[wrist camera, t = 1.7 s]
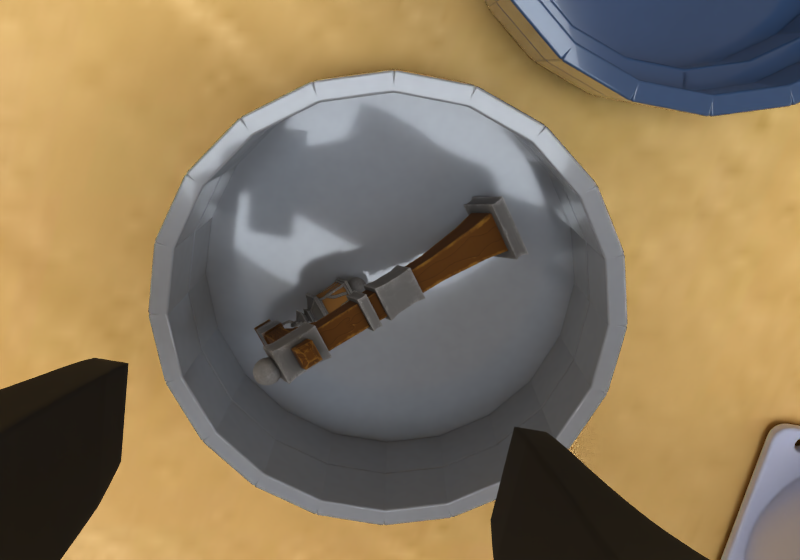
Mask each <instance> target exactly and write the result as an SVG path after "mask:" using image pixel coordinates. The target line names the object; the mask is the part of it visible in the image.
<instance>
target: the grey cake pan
mask: <svg viewBox="0 0 800 560" xmlns="http://www.w3.org/2000/svg"><path fill="white" fill-rule="evenodd" d="M500 196H503V198H504V200H505V203H506V205H507V207H508V209H509V211H510V214H511V216H512V218H513V220H514V223H515V225H516V227H517V229H518V231H519V234H520V236H521V238H522V240H523V242H524V245H525V247H526V249H527V251H528V254H524V255H522V256H520V257H518V259H509V258H502V257H494V256H493V257H491V258H488V259H486V260H484V261H482V262H480V263H478V264H476V265H474V266H472V267H470V268H468V269H466V270H464V271H462V272H460V273H458V274H456V275H454V276H452V277H450V278H448V279H446V280H444V281H442V282H440V283H439V284H437V285H435V286H434V287H432V288H431V289H429V290H427V291H426V292H424V293H423V294H424V296H425V299H423V300H420V301H418V302H416V303H414V304H412V305H411V306H409V307H408V308H406V309H405V310H403V311H402V312H400V313H399V314H398V315H397V316H396V317H395V318H394V319H393V320H392V321H391V320H388V319H386V318H384V319H382V320H380V322H381V324H382V326H383V327H379V328H377V329H376V330H375V331H372V330H370V329H368V328H367V329H365V330H364V331H362V332H360V333H359V334H357V335H355V336H354V337H352V338H350V339H349V340H347V341H345V342H344V343H342V344H340V345H339V346H337V347H335V348H334V349H332V350H330V351H329V352H330V354H331V356H332V358H329V359H327V360H324V361H322V362H320V363H319V364H317V365H315V366H314V367H312V368H311V369H309V370H308V371H306V372H304V373H303V374H301V375H300V376H298V377H297V378H295V379H294V380H293V381H292V382H291V383H290V384H288V383H287V382H285V381H284V380H282V379H281V378H279V380H278V381H277V382H276V383H274V384H272V385H262V384H260V383H258V382H257V381H256V380H255V378H254V376H253V368H254V365H255V364H256V363H257V362H258V361H259V360H260V359H262V358H265V357H268V356H267V354H266V352H265V351H264V349H263V346H264V345H263V343H262V341H261V340H260V338H259V336H258V334H257V333H256V331H255V329H254V328H255V327H257V326H258V325H260V324H262V323H263V322H265V321H267V320H268V319H270V320H273V321H274V320H277V321H279V322H281V323H283V322H285V321H288V320H291V321H295V320H296V310H298V311H300V312H302V313H303V314H304V310H303V309H307V298H306V295H305V294H306V293H310V294H313V295H317V294H318V293H320V292H321V291H323V290H324V289H326V288H327V287H329V286H330V285H331V284H333V283H334V281H335V280H336V278H337V277H338V278H341V279H344V280H347V282H348V281H349V280H350V279H352V278H354V277H359V278H361V279H363V280H364V281H365V282H366V284H368V283H370V282H373V281H375V280H376V279H378V278H380V277H381V276H383V275H385V274H386V273H388V272H390V271H391V270H392V269H393V268H394V267H395V266H396V265H400V266H406V265H408V264H409V263H411V262H412V261H414V260H415V259H417V258H419V257H420V256H422V255H423V254H424V253H425V252H427V251H428V250H429V249H430V248H432V247H433V246H434V245H435V244H437V243H438V242H439V241H440V240H442V239H443V238H444V237H445V236H447V235H448V234H449V233H450V232H452V231H453V230H454V229H455V228H456V227H457V226H458V225H459V224H460V223H461V222H462V221H463V220H464V219H466V218H467V217H468V214H467V211H466V209H465V207H464V204H467V203H468V202H470V201H471V199H472V197H500ZM148 312H149V319H150V323H151V327H152V331H153V335H154V339H155V343H156V347H157V351H158V355H159V359H160V363H161V367H162V371H163V375H164V379H165V381H166V384H167V386H168V387H169V389H170V391H171V392H172V394H173V395H174V397H175V399H176V400H177V402H178V403H179V405H180V407H181V408H182V410H183V411H184V413H185V415H186V416H187V418H188V419H189V421H190V423H191V424H192V426H193V427H194V429H195V431H196V432H197V434H198V435H199V437H200V439H201V440H203V442H204V443H205V444H206V445H207V446H208V447H209V448H211V449H212V450H213V451H214V452H215V453H216V454H218V455H219V456H220V457H221V458H222V459H223V460H225V461H226V462H227V463H228V464H229V465H230V466H231V467H233V468H234V469H235V470H236V471H237V472H238V473H240V474H241V475H242V476H243V477H244V478H245V479H246V480H248V481H249V482H250V483H251V484H252V485H255V487H257V488H259V489H262V490H264V491H266V492H268V493H270V494H272V495H275V496H277V497H279V498H281V499H283V500H286V501H288V502H290V503H292V504H294V505H296V506H299V507H301V508H303V509H305V510H307V511H309V512H312V513H314V514H316V513H317V515H322V516H328V517H334V518H340V519H347V520H353V521H359V522H366V523H372V524H378V525H383V524H384V525H391V524H400V523H409V522H417V521H426V520H435V519H444V518H450V517H451V516H452V517H454V516H457V515H459V514H462V513H464V512H467V511H469V510H472V509H474V508H477V507H479V506H482V505H484V504H487V503H489V502H491V501H494V500H496V497H497V493H498V489H499V485H500V481H501V477H502V473H503V469H504V465H505V461H506V457H507V453H508V449H509V445H510V442H511V438H512V434H513V430H514V427H520V428H526V429H532V430H538V431H544V432H547V433H549V434H550V435H551V436H553V437H554V438H555V439H556V440H558V441H559V442H560V443H561V444H562V445H563V446H565V447H566V448H568V449H569V448H570V447H571V445H572V444H573V442H574V441H575V439H576V438H577V436H578V435H579V434H580V432H581V431H582V429H583V428H584V426H585V425H586V423H587V422H588V421H589V419H590V418H591V416H592V415H593V413H594V412H595V410H596V409H597V407H598V406H599V405H600V403H601V402H602V400H603V399H604V397H605V396H606V394H607V392H608V390H609V386H610V383H611V379H612V376H613V373H614V369H615V366H616V363H617V359H618V356H619V353H620V349H621V346H622V342H623V339H624V336H625V332H626V329H627V326H626V325H627V299H626V275H625V256H624V251H623V248H622V246H621V243H620V241H619V238H618V236H617V233H616V231H615V228H614V226H613V223H612V221H611V218H610V216H609V213H608V211H607V208H606V206H605V203H604V201H603V198H602V196H601V193H600V191H599V188H598V186H597V185H596V182H595V181H594V180H593V179H592V178H591V177H590V176H589V174H588V173H587V172H586V171H585V170H584V169H583V168H582V166H581V165H580V164H579V163H578V162H577V161H576V160H575V158H574V157H573V156H572V155H571V154H570V153H569V151H568V150H567V149H566V148H565V147H564V146H563V145H562V143H561V142H560V141H559V140H558V139H557V138H556V137H555V135H554V134H553V133H552V132H551V131H550V130H549V129H548V127H546V126H544V124H542V123H541V122H539V121H537V120H535V119H534V118H532V117H530V116H528V115H527V114H525V113H523V112H521V111H520V110H518V109H516V108H514V107H513V106H511V105H509V104H507V103H506V102H504V101H502V100H500V99H499V98H497V97H495V96H493V95H492V94H490V93H488V92H486V91H485V90H483V89H481V88H479V87H477V86H474V85H472V84H468V83H465V82H461V81H456V80H451V79H446V78H441V77H435V76H430V75H425V74H420V73H415V72H410V71H404V70H399V69H396V70H395V69H389V70H382V71H375V72H368V73H360V74H353V75H346V76H338V77H331V78H325V79H320V80H315V81H313V82H309V83H307V84H305V85H303V86H301V87H299V88H297V89H295V90H293V91H291V92H289V93H287V94H285V95H283V96H281V97H279V98H277V99H275V100H273V101H271V102H269V103H267V104H265V105H263V106H261V107H259V108H257V109H255V110H253V111H251V112H249V113H247V114H245V115H243V116H242V117H241V118H240V119H238V120H237V121H236V122H235V123H234V124H233V125H232V126H231V127H230V128H229V129H228V130H227V131H226V132H225V133H224V134H223V135H222V136H221V137H220V138H219V139H218V140H217V141H216V142H215V143H214V145H213V146H212V147H211V148H210V149H209V150H208V151H207V152H206V153H205V154H204V155H203V156H202V157H201V158H200V159H199V160H198V161H197V162H196V163H195V164H194V165H193V166H192V167H191V168H190V169H189V170H188V171H187V174H186V175H185V176H184V178H183V180H182V182H181V184H180V187H179V189H178V191H177V193H176V195H175V198H174V200H173V202H172V204H171V206H170V209H169V211H168V213H167V215H166V217H165V220H164V222H163V224H162V226H161V228H160V231H159V233H158V235H157V237H156V239H155V244H154V253H153V265H152V276H151V287H150V299H149V310H148ZM315 322H316V321H315ZM309 323H312V322H310V321H309ZM296 324H297V323H296ZM299 326H300V325H299ZM299 326H297V327H299ZM283 327H284V328H285V329H286V328H292V327H291V323H288V324H285V325H284V326H283Z"/></svg>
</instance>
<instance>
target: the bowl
mask: <svg viewBox="0 0 800 560" xmlns="http://www.w3.org/2000/svg"><path fill="white" fill-rule="evenodd" d="M485 3H486V5H487V6H489V10H490V11H491V12H492V13H493V15H494V16H495V17H496V18H497V19H498V20H499V22H500V23H501V24H502V25H503V26H504V27H505V29H506V30H507V31H508V32H509V33H510V34H511V36H512V37H513V38H514V39H515V40H516V41H517V43H518V44H519V45H520V46H521V47H522V48H523V50H524V51H525V52H526V53H527V54H528V55H529V57H530V58H531V59H532V60H535V62H536V63H537V64H539V65H541V66H542V67H544V68H546V69H548V70H549V71H551V72H553V73H554V74H556V75H558V76H560V77H561V78H563V79H565V80H566V81H568V82H570V83H571V84H573V85H575V86H577V87H578V88H580V89H582V90H583V91H585V92H587V93H589V94H592V95H594V96H598V97H603V98H608V99H613V100H618V101H623V102H629V103H634V104H639V105H644V106H649V107H654V108H660V109H666V110H672V111H678V112H684V113H690V114H696V115H702V116H719V115H727V114H734V113H742V112H750V111H757V110H765V109H772V108H780V107H787V106H790V105H795V104H797V103H799V102H800V0H485Z"/></svg>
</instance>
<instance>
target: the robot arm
mask: <svg viewBox="0 0 800 560" xmlns="http://www.w3.org/2000/svg"><path fill="white" fill-rule="evenodd" d="M127 375H128V363H123V362H117V361H111V360H105V359H98V358H92V359H88V360H84V361H80V362H77V363H74V364H71V365H68V366H65V367H62V368H60V369H57V370H54V371H51V372H48V373H46V374H43V375H40V376H37V377H35V378H32V379H29V380H26V381H23V382H21V383H18V384H15V385H12V386H10V387H7V388H4V389H1V390H0V560H61V558H62V557H63V555H64V554H65V553H66V551H67V550H68V548H69V547H70V546H71V544H72V543H73V541H74V540H75V539H76V537H77V536H78V534H79V533H80V531H81V530H82V529H83V527H84V526H85V524H86V523H87V522H88V520H89V519H90V517H91V516H92V514H93V513H94V511H95V510H96V509H97V507H98V505H99V504H100V502H101V500H102V498H103V496H104V494H105V492H106V490H107V489H108V487H109V485H110V483H111V481H112V479H113V477H114V475H115V473H116V471H117V469H118V466H119V464H120V462H121V454H122V441H123V428H124V414H125V401H126V388H127ZM799 439H800V426H799V425H793V424H779V425H776V426H775V427H773V428H772V429H771V430H770V432H769V433H768V435H767V438H766V440H765V443H764V446H763V448H762V451H761V454H760V456H759V459H758V462H757V464H756V467H755V470H754V472H753V475H752V478H751V480H750V483H749V486H748V488H747V491H746V494H745V496H744V499H743V502H742V504H741V507H740V510H739V512H738V515H737V518H736V520H735V523H734V526H733V528H732V531H731V534H730V536H729V539H728V542H727V544H726V547H725V549H724V552H723V555H722V557H721V560H800V445H798V446H795V443H796V441H797V440H799ZM491 531H492V547H493V558H494V560H709V559H708V558H706V557H704V556H703V555H701V554H699V553H698V552H696V551H694V550H693V549H691V548H690V547H688V546H687V545H685V544H684V543H682V542H681V541H679V540H678V539H676V538H675V537H673V536H672V535H670V534H669V533H668V532H666V531H665V530H663V529H662V528H660V527H659V526H658V525H656V524H655V523H654V522H652V521H651V520H650V519H648V518H647V517H646V516H644V515H643V514H642V513H641V512H639V511H638V510H637V509H636V508H634V507H633V506H632V505H630V504H629V503H628V502H627V501H625V500H624V499H623V498H622V497H621V496H620V495H618V494H617V493H616V492H615V491H614V490H612V489H611V488H610V487H609V486H608V485H607V484H606V483H604V482H603V481H602V480H601V479H600V478H599V477H598V476H596V475H595V474H594V473H593V472H592V471H591V470H590V469H589V468H588V467H587V466H585V465H584V464H583V463H582V462H581V461H580V460H579V459H578V458H577V457H576V456H574V455H573V454H572V453H571V452H570V451H569V450H568V449H567V448H566V447H565V446H563V445H562V444H561V443H560V442H559V441H558V440H556V439H555V438H554V437H553V436H551V435H550V434H549V433H547V432H544V431H538V430H532V429H526V428H520V427H514V430H513V434H512V438H511V442H510V445H509V449H508V453H507V457H506V461H505V465H504V469H503V473H502V477H501V481H500V485H499V489H498V493H497V497H496V501H495V505H494V509H493V513H492V517H491Z"/></svg>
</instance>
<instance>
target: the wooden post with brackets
mask: <svg viewBox="0 0 800 560" xmlns="http://www.w3.org/2000/svg"><path fill="white" fill-rule="evenodd" d="M464 207H465V209H466V211H467V214H468V217H467V218H466V219H464V220H463V221H462V222H461V223H460V224H459V225H458V226H457V227H456V228H455V229H454V230H453V231H452V232H450V233H449V234H448V235H447V236H445V237H444V238H443V239H442V240H440V241H439V242H438V243H437V244H435V245H434V246H433V247H432V248H430V249H429V250H428V251H427V252H425V253H424V254H423V255H422V256H420V257H419V258H417V259H415V260H414V261H412V262H411V263H409V264H408V265H406V266H400V265H396V266H395V267H394V268H393V269H392V270H391V271H390V272H388V273H386V274H385V275H383V276H381V277H380V278H378V279H376V280H375V281H373V282H370V283H368V284H366V282H365V281H364V280H363V279H361V278H359V277H354V278H352V279H350V280H349V281H348V282H347V280H344V279H341V278H338V277H337V278H336V280H335V281H334V283H333V284H331V285H330V286H329V287H327V288H326V289H324V290H323V291H321V292H320V293H318V294H317V295H313V294H310V293H306V294H305V295H306V298H307V309H303V310H304V314H303V313H302V312H300V311H298V310H296V320H295V321H291V320H288V321H285V322H283V323H281V322H279V321H277V320H274V321H273V320H270V319H268V320H267V321H265V322H263V323H262V324H260V325H258V326H257V327H255V328H254V329H255V331H256V333H257V334H258V336H259V338H260V340H261V341H262V343H263V345H264V346H263V349H264V351H265V352H266V354H267V356H268V357H265V358H262V359H260V360H259V361H258V362H257V363H256V364H255V365H254V368H253V376H254V378H255V380H256V381H257V382H258V383H260V384H262V385H272V384H274V383H276V382H277V381H278V380H279V378H281V379H282V380H284V381H285V382H287V383H288V384H290V383H291V382H292V381H293V380H294V379H295V378H297V377H298V376H300V375H301V374H303V373H304V372H306V371H308V370H309V369H311V368H312V367H314V366H315V365H317V364H319V363H320V362H322V361H324V360H327V359H329V358H332V356H331V354H330V352H329V351H330V350H332V349H334V348H335V347H337V346H339V345H340V344H342V343H344V342H345V341H347V340H349V339H350V338H352V337H354V336H355V335H357V334H359V333H360V332H362V331H364V330H365V329H367V328H368V329H370V330H372V331H375V330H376V329H377V328H379V327H383V326H382V324H381V322H380V320H382V319H384V318H386V319H388V320H391V321H392V320H393V319H394V318H395V317H396V316H397V315H398V314H399V313H400V312H402V311H403V310H405V309H406V308H408V307H409V306H411V305H412V304H414V303H416V302H418V301H420V300H423V299H425V296H424V294H423V293H424V292H426V291H427V290H429V289H431V288H432V287H434V286H435V285H437V284H439V283H440V282H442V281H444V280H446V279H448V278H450V277H452V276H454V275H456V274H458V273H460V272H462V271H464V270H466V269H468V268H470V267H472V266H474V265H476V264H478V263H480V262H482V261H484V260H486V259H488V258H491V257H493V256H494V257H502V258H509V259H518V257H520V256H522V255H524V254H528V251H527V249H526V247H525V245H524V242H523V240H522V238H521V236H520V234H519V231H518V229H517V227H516V225H515V223H514V220H513V218H512V216H511V214H510V211H509V209H508V207H507V205H506V203H505V200H504V198H503V196H500V197H472V199H471V201H470V202H468V203H467V204H464ZM309 321H310V322H312V323H309ZM315 321H316V322H315ZM288 323H291V327H292V328H286V329H285V328H284V327H283V326H284V325H285V324H288ZM296 323H297V324H296ZM299 325H300V326H299ZM297 326H299V327H297Z"/></svg>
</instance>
